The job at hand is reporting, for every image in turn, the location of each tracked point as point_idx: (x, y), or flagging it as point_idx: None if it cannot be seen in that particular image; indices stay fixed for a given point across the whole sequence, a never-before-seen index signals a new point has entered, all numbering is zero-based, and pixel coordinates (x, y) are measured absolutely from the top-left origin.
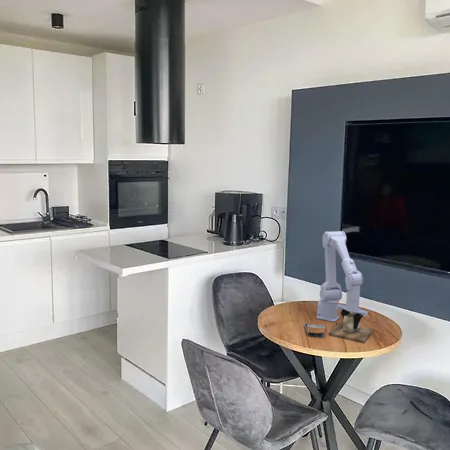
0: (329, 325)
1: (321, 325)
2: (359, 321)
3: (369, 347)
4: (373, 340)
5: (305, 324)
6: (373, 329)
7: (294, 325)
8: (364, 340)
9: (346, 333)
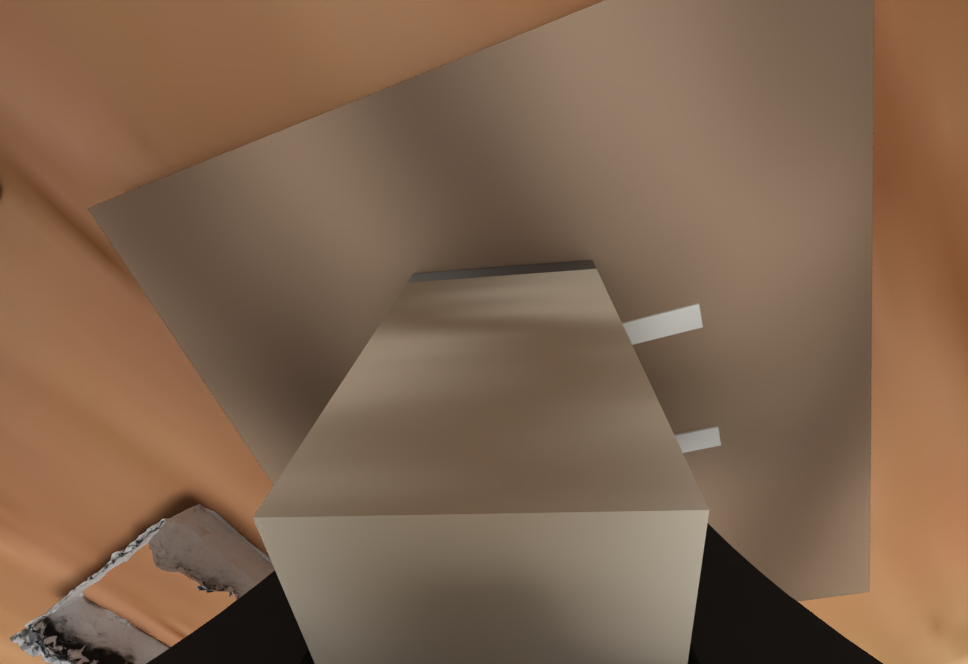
0: (122, 382)
1: (140, 542)
2: (726, 548)
3: (948, 605)
4: (950, 394)
5: None
6: None
7: (10, 633)
8: (868, 582)
9: None
